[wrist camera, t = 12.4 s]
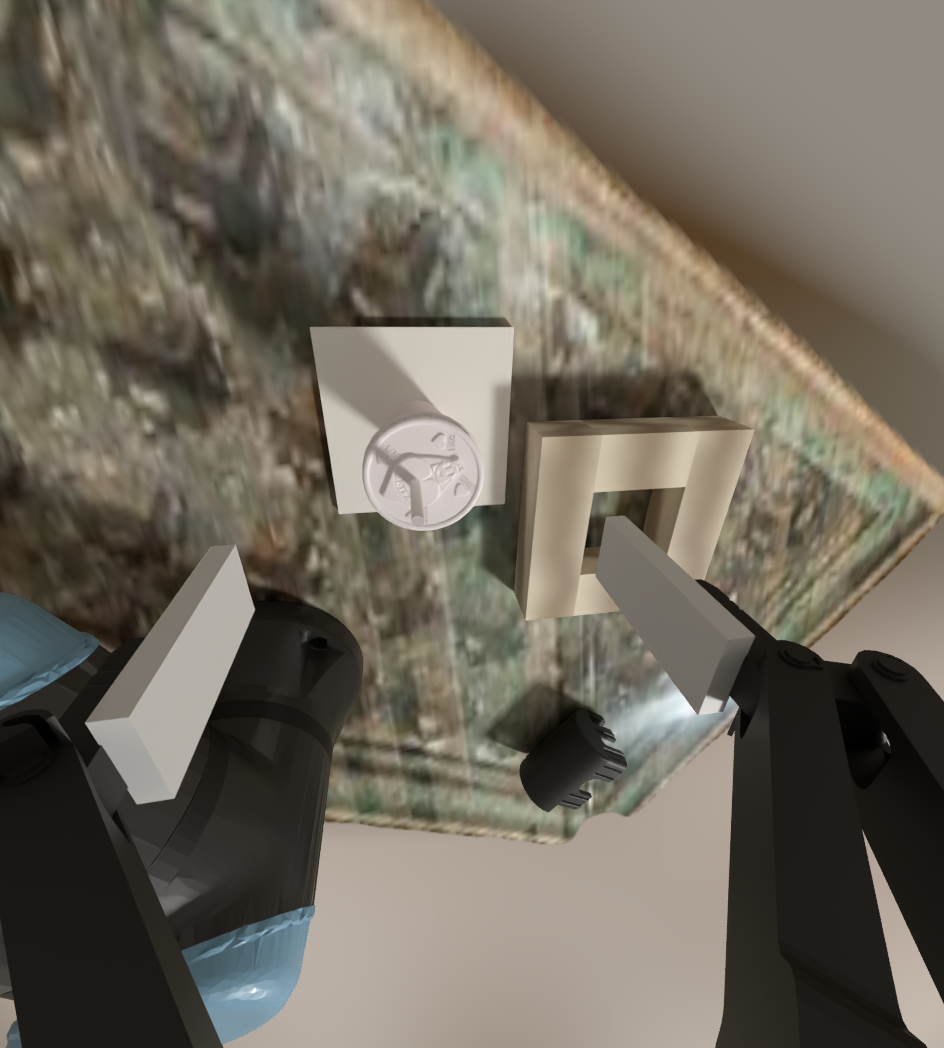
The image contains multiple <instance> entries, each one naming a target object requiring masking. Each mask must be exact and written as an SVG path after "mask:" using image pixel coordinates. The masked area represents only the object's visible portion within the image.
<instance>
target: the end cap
mask: <svg viewBox="0 0 944 1048" xmlns="http://www.w3.org/2000/svg"><path fill="white" fill-rule="evenodd" d="M604 724H605V721H604V719H603V718H602V717H601V716H599V715H597V714H594V713H592V712H589V711H587V710H585V709H581V708H578V709H577V710H575V711H574V712H573V713H572V714H571V715H570V716H569V717H568V718H567V719H566V720H565V721H564V722H562V723H561V724H560V725H559V726H558V727H557V728H556V729H555V730H554V731H553V732H552V733H551V734H550V735H548V736H547V737H546V738H545V739H544V740H543V741H542V742H541V743H540V744H539V745H538V746H537V747H536V748H534V749H533V750H532V751H531V752H530V753H529V754H528V755H527V756H526V758H525V759H524V760H523V761H522V763H521V765H520V778H521V782H522V785H523V787H524V789H525V791H526V793H527V794H528V796H529V797H530V799H531V800H532V801H533V802H534V803H535V804H536V805H537V806H538V807H539V808H541V809H542V810H544V811H547V812H550V811H551V810H552V809H553V808H554V807H555V806H557V805H561V806H565V807H568V808H572V809H578V808H580V807H581V805H583V804H584V803H585V802H586V801H588V800H589V799H590V798H591V797H592V796H591V794H590V793H589V792H585V791H582V790H580V789H579V788H580V786H581V785H582V784H583V783H585V782H587V781H589V780H592V779H600V780H603V781H606V782H611V781H613V780H614V778H615V777H617V776H618V775H619V774H621V773H622V772H623V771H624V770H625V769H626V767H627V762H626V760H625V758H624V754H623V753H622V752H621V751H619V750H617V749H614V748H612V747H609V746H607V745H605V744H604V743H603V741H602V739H601V738H603V739H605V740H608V741H611V742H613V743H614V742H615V741H616V739H615V737H614V734H613V733H612V731H611V730H610V729H607V728H605V727H602V726H603V725H604Z"/></svg>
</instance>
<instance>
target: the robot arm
mask: <svg viewBox="0 0 944 1048" xmlns="http://www.w3.org/2000/svg"><path fill="white" fill-rule="evenodd" d="M595 577H596V578H597V580H598V581H599V582H600V584H601V585H602V586H603V588H604V589H605V590H606V592H607V593H608V594H609V596H610V597H611V599H612V600H613V601H614V603H615V604H616V605H617V607H618V608H619V609H620V611H621V612H622V613H623V615H624V616H625V617H626V619H627V620H628V621H629V623H630V624H631V625H632V627H633V628H634V630H635V631H636V632H637V634H638V635H639V636H640V638H641V639H642V640H643V642H644V643H645V644H646V646H647V647H648V648H649V650H650V651H651V652H652V654H653V655H654V657H655V658H656V659H657V661H658V662H659V663H660V665H661V666H662V667H663V669H664V670H665V671H666V673H667V674H668V675H669V677H670V678H671V679H672V681H673V682H674V684H675V685H676V686H677V688H678V689H679V690H680V692H681V693H682V694H683V696H684V697H685V698H686V700H687V701H688V702H689V704H690V705H691V706H692V708H693V709H694V711H695V712H696V713H697V715H704V714H710V713H716V712H722V711H723V710H724V708H725V706H726V703H727V701H728V699H729V696H731V698H732V699H733V700H734V701H735V702H736V703H737V705H738V706H739V709H738V711H737V713H736V715H735V717H734V720H733V722H732V724H731V726H730V729H729V731H728V735H730V736H732V735H733V732H734V731H735V741H734V766H733V767H734V768H733V791H732V793H733V794H732V817H731V841H730V866H729V891H728V918H727V942H726V968H725V992H724V993H725V994H724V1010H723V1018H722V1024H721V1027H720V1031H719V1035H718V1039H717V1042H716V1047H715V1048H927V1046H926V1045H925V1044H924V1043H923V1042H922V1041H920V1040H919V1039H918V1038H917V1037H915V1035H913V1034H912V1033H911V1032H910V1031H909V1030H908V1029H907V1027H906V1025H905V1023H904V1022H903V1019H902V1016H901V1012H900V1009H899V1005H898V1000H897V996H896V990H895V985H894V981H893V976H892V971H891V966H890V962H889V957H888V952H887V947H886V942H885V938H884V933H883V928H882V923H881V919H880V913H879V909H878V904H877V899H876V894H875V890H874V885H873V880H872V875H871V871H870V866H869V861H868V856H867V852H866V846H865V842H864V837H863V832H864V834H865V836H866V838H867V840H868V842H869V845H870V847H871V849H872V851H873V853H874V855H875V857H876V860H877V862H878V864H879V866H880V868H881V870H882V872H883V875H884V877H885V879H886V881H887V883H888V885H889V887H890V889H891V892H892V894H893V896H894V898H895V900H896V902H897V904H898V907H899V909H900V911H901V913H902V915H903V917H904V920H905V922H906V924H907V926H908V928H909V930H910V932H911V935H912V937H913V939H914V941H915V943H916V945H917V947H918V949H919V952H920V954H921V956H922V958H923V960H924V962H925V964H926V967H927V969H928V971H929V973H930V975H931V977H932V979H933V981H934V984H935V986H936V988H937V990H938V992H939V994H940V996H941V999H942V1001H943V1003H944V701H943V700H942V699H941V698H940V696H939V695H938V694H937V693H936V692H935V690H934V689H933V688H932V687H931V685H930V684H929V683H928V682H927V680H926V679H925V678H924V677H923V676H922V675H921V674H920V673H919V672H918V671H917V670H916V669H915V668H914V667H912V666H910V665H909V664H907V663H906V662H904V661H903V660H901V659H899V658H897V657H894V656H892V655H889V654H885V653H882V652H878V651H870V650H864V651H861V652H858V654H857V656H856V657H855V659H854V661H853V662H852V664H845V663H838V662H830V661H824V660H823V659H822V658H821V657H820V656H819V655H818V654H816V653H815V652H813V651H812V650H810V649H808V648H807V647H805V646H802V645H800V644H797V643H795V642H790V641H785V640H776V639H775V638H774V637H772V636H771V635H770V634H769V633H768V632H767V631H766V630H765V629H763V628H762V627H761V626H760V625H759V624H758V623H757V622H756V621H754V620H753V619H752V618H751V617H750V616H749V615H748V614H746V613H745V612H744V611H743V610H740V609H739V606H737V605H736V604H735V603H734V602H733V601H730V600H729V598H728V597H727V596H726V595H725V594H724V593H723V592H722V591H720V590H719V589H718V588H717V587H715V586H713V585H711V584H709V583H708V582H706V581H704V580H702V579H696V580H694V579H693V578H692V577H691V576H690V575H689V574H688V573H686V572H685V571H684V570H683V569H682V568H681V567H680V566H679V565H678V564H677V563H676V562H675V561H673V560H672V559H671V558H670V557H669V556H668V555H667V554H666V553H665V552H664V551H663V550H662V549H660V548H659V547H658V546H657V545H656V544H655V543H654V542H653V541H652V540H651V539H650V538H649V537H647V536H646V535H645V534H644V533H643V532H642V531H641V530H640V529H639V528H638V527H637V526H636V525H634V524H633V523H632V522H631V521H630V520H629V519H628V518H627V517H626V516H611V517H606V520H605V525H604V531H603V536H602V542H601V548H600V553H599V559H598V564H597V570H596V575H595ZM99 643H100V640H98V639H97V638H95V637H94V636H93V635H90V634H89V633H86V632H79V631H77V630H76V629H74V628H73V627H71V626H69V625H68V624H66V623H65V622H63V621H61V620H60V619H58V618H57V617H55V616H54V615H52V614H50V613H49V612H47V611H46V610H44V609H42V608H41V607H39V606H38V605H36V604H35V603H33V602H31V601H30V600H28V599H26V598H24V597H21V596H18V595H15V594H11V593H6V592H0V997H2V998H6V999H10V1000H14V1004H15V1010H16V1015H17V1021H15V1022H13V1024H12V1026H11V1028H10V1030H9V1031H8V1033H7V1040H8V1043H7V1046H6V1048H223V1046H222V1045H223V1044H225V1043H227V1042H230V1041H232V1040H235V1039H237V1038H239V1037H242V1036H244V1035H246V1034H248V1033H250V1032H252V1031H254V1030H256V1029H257V1028H259V1027H260V1026H262V1025H263V1024H265V1023H266V1022H268V1021H269V1020H270V1019H272V1018H273V1017H274V1016H275V1015H276V1014H277V1013H278V1012H279V1011H280V1010H281V1009H282V1008H283V1007H284V1005H285V1004H286V1002H287V1000H288V998H289V997H290V996H291V994H292V992H293V990H294V988H295V987H296V985H297V982H298V979H299V975H300V972H301V967H302V961H303V956H304V950H305V945H306V940H307V934H308V929H309V924H310V920H311V919H312V918H313V916H314V913H315V905H314V899H315V890H316V882H317V874H318V866H319V858H320V850H321V841H322V833H323V825H324V817H325V809H326V800H327V792H328V784H329V776H330V767H331V759H332V752H333V747H334V744H335V742H336V740H337V738H338V736H339V734H340V732H341V730H342V728H343V726H344V724H345V722H346V720H347V718H348V716H349V714H350V712H351V710H352V708H353V706H354V704H355V702H356V700H357V698H358V696H359V692H360V689H361V684H362V673H363V656H362V652H361V649H360V647H359V644H358V643H357V641H356V639H355V638H354V636H353V635H352V634H351V632H350V631H349V630H348V629H347V628H346V627H345V626H343V625H342V624H341V623H340V622H338V621H337V620H336V619H334V618H333V617H331V616H329V615H327V614H325V613H323V612H321V611H319V610H316V609H313V608H310V607H307V606H304V605H299V604H295V603H288V602H276V601H267V602H255V603H253V602H252V598H251V595H250V592H249V588H248V585H247V581H246V578H245V575H244V571H243V568H242V564H241V561H240V558H239V554H238V551H237V548H236V545H223V546H211V547H210V548H209V549H208V551H207V552H206V554H205V555H204V556H203V558H202V559H201V561H200V562H199V563H198V565H197V566H196V568H195V569H194V570H193V572H192V573H191V575H190V576H189V577H188V579H187V580H186V582H185V583H184V585H183V586H182V587H181V589H180V590H179V592H178V593H177V594H176V596H175V597H174V599H173V600H172V601H171V603H170V604H169V606H168V607H167V608H166V610H165V611H164V613H163V614H162V615H161V617H160V618H159V620H158V621H157V622H156V624H155V625H154V627H153V628H152V629H151V631H150V632H149V634H148V635H147V636H146V637H145V638H135V639H129V640H128V641H127V642H125V643H124V644H123V645H121V646H120V647H119V648H117V649H116V650H115V651H114V652H112V653H110V652H109V651H107V650H106V649H105V648H103V647H102V646H100V645H99ZM887 740H889V743H890V746H889V745H888V743H887ZM862 830H863V832H862Z"/></svg>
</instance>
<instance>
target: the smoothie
mask: <svg viewBox="0 0 944 1048" xmlns="http://www.w3.org/2000/svg"><path fill="white" fill-rule="evenodd" d="M362 480H363V486H364V489H365V492H366V495H367V497H368V499H369V501H370V503H371V504H372V506H373V507H374V508H375V509H376V511H377V512H378V513H379V514H380V515H382V516H383V517H384V518H385V519H387V520H388V521H390V522H392V523H393V524H395V525H398V526H400V527H403V528H407V529H411V530H419V531H427V530H435V529H439V528H443V527H446V526H448V525H451V524H453V523H454V522H456V521H458V520H459V519H461V518H462V517H463V516H465V515H466V514H467V513H468V512H469V511H470V510H471V509H472V507H473V506H474V505H475V503H476V502H477V500H478V498H479V496H480V494H481V491H482V488H483V483H484V464H483V459H482V456H481V452H480V448H479V446H478V445H477V443H476V441H475V439H474V437H473V435H472V434H471V433H470V432H469V431H468V430H467V429H466V428H465V427H464V426H463V425H462V424H460V423H458V422H457V421H455V420H453V419H451V418H450V417H448V416H445V415H443V414H442V413H441V412H440V411H439V410H437V409H436V408H435V407H434V406H433V405H431V404H430V403H428V402H425V401H420V400H414V401H409V402H407V403H404V404H403V405H401V406H400V407H399V408H398V409H397V410H396V412H395V413H394V415H393V417H392V418H391V420H390V421H389V422H388V423H386V424H384V425H383V426H382V427H381V428H380V429H379V430H378V431H377V432H376V433H375V434H374V435H373V437H372V438H371V440H370V442H369V444H368V446H367V448H366V450H365V454H364V459H363V464H362Z"/></svg>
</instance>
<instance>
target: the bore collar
mask: <svg viewBox="0 0 944 1048" xmlns="http://www.w3.org/2000/svg"><path fill="white" fill-rule="evenodd" d="M754 430H755V429H753V428H750V427H747V426H745V425H742V424H739V423H737V422H734V421H731V420H729V419H726V418H723V417H721V416H688V417H657V418H626V419H595V420H563V421H532V422H526V435H525V448H524V462H523V476H522V490H521V503H520V517H519V531H518V545H517V558H516V572H515V586H514V593H515V596H516V598H517V601H518V603H519V606H520V608H521V611H522V613H523V616H524V618H525V621H527V620H536V619H546V618H556V617H566V616H576V615H586V614H595V613H605V612H615V611H620V609H619V608H618V607H617V605H616V604H615V603H614V601H613V600H612V599H611V597H610V596H609V594H608V593H607V592H606V590H605V589H604V588H603V586H602V585H601V584H600V582H599V581H598V580H597V578H596V577H595V575H596V570H597V564H598V559H599V553H600V548H601V546H600V547H587V548H585V542H586V536H587V530H588V523H589V517H590V511H591V505H592V499H593V493H594V492H608V491H625V490H642V489H652V493H651V497H650V502H649V506H648V510H647V515H646V519H645V523H644V527H643V533H644V534H645V535H646V536H647V537H649V538H650V539H651V540H652V541H653V542H654V543H655V544H656V545H657V546H658V547H659V548H660V549H662V550H663V551H664V552H665V553H666V554H667V555H668V556H669V557H670V558H671V559H672V560H673V561H675V562H676V563H677V564H678V565H679V566H680V567H681V568H682V569H683V570H684V571H685V572H686V573H688V574H689V575H690V576H691V577H692V578H693V579H694V580H696V579H702V580H704V579H705V576H706V573H707V570H708V567H709V564H710V561H711V558H712V555H713V552H714V549H715V546H716V543H717V540H718V537H719V535H720V532H721V529H722V526H723V523H724V520H725V517H726V514H727V511H728V508H729V505H730V502H731V499H732V496H733V493H734V490H735V487H736V484H737V481H738V478H739V475H740V472H741V469H742V466H743V463H744V460H745V457H746V454H747V451H748V448H749V445H750V442H751V439H752V436H753V433H754Z"/></svg>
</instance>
